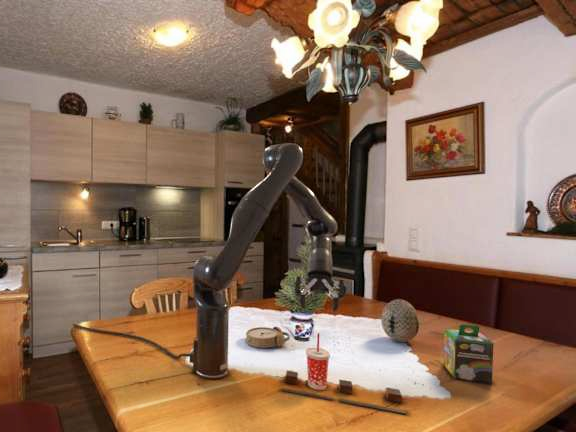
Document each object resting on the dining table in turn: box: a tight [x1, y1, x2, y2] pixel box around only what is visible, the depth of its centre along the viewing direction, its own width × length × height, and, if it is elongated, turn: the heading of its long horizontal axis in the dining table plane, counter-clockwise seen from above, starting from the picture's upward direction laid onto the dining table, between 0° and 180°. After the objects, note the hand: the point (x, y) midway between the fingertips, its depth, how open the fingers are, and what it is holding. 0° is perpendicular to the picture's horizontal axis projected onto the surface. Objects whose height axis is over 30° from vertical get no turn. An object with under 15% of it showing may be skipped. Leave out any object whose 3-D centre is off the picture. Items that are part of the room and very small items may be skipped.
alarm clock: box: [245, 326, 291, 349], centre depth 123 cm, size 11×5×15 cm
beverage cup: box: [305, 332, 331, 391], centre depth 94 cm, size 6×6×14 cm
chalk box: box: [443, 323, 495, 385], centre depth 102 cm, size 9×9×15 cm
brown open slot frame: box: [338, 379, 407, 416], centre depth 87 cm, size 14×8×2 cm, turn 70°
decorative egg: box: [380, 298, 420, 343], centre depth 127 cm, size 12×12×15 cm
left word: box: [281, 370, 333, 401], centre depth 93 cm, size 12×8×2 cm, turn 70°
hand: (318, 309), depth 104 cm, fingers open, 8 cm apart
